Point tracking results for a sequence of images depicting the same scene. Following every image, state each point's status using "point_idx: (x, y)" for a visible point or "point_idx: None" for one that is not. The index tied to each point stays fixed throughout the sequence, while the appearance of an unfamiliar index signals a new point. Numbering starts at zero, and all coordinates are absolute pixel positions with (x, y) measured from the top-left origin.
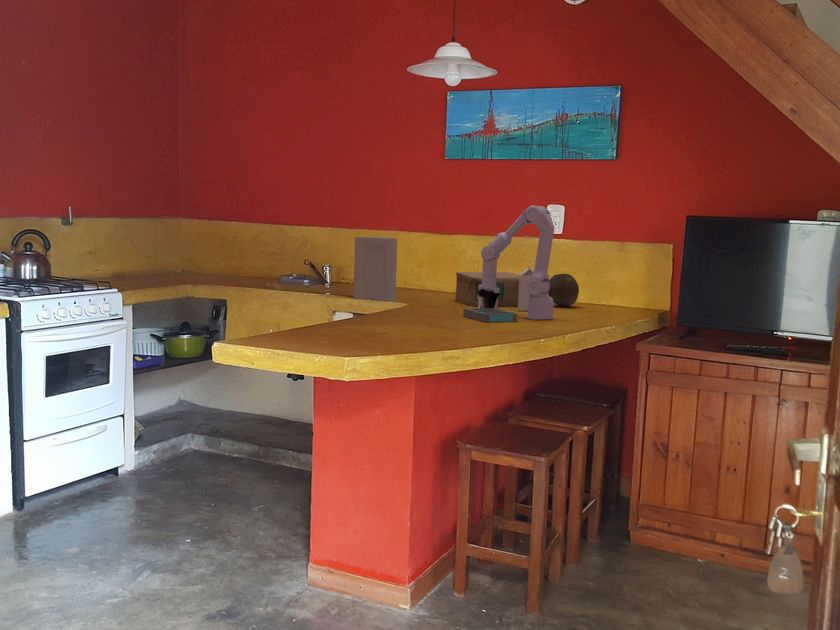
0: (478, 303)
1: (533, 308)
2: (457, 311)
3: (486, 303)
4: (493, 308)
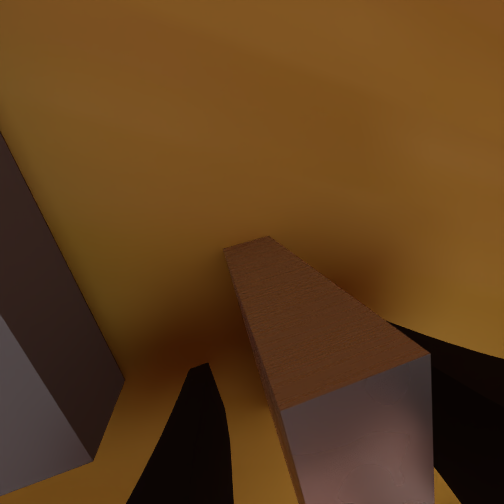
0: (315, 273)
1: None
2: (443, 28)
3: (270, 401)
4: (29, 444)
